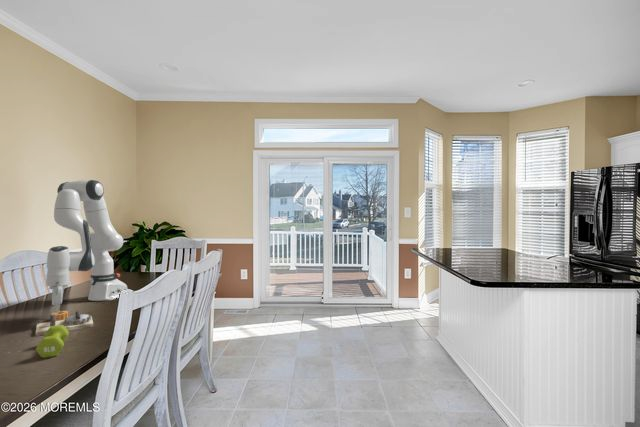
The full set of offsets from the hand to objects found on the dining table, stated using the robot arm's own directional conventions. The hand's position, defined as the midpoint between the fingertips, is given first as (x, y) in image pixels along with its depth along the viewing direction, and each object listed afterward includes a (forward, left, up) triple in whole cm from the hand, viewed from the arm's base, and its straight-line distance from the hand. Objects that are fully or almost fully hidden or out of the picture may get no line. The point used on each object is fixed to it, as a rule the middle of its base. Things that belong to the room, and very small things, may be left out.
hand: (57, 309), depth 161 cm
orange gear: (-1, 0, -5) cm, 5 cm away
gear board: (+2, +14, -5) cm, 15 cm away
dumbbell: (+15, +38, -5) cm, 41 cm away
